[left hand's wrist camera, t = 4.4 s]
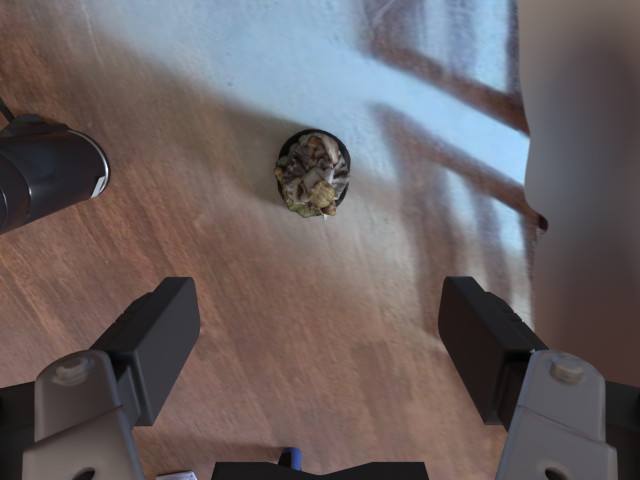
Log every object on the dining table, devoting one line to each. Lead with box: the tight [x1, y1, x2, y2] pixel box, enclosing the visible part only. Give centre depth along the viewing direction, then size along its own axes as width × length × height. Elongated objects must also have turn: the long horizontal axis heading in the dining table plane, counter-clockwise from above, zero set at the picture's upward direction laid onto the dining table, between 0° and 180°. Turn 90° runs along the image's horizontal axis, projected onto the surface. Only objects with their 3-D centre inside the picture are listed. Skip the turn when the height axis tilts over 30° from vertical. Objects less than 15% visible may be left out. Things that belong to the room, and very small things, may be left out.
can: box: [282, 448, 301, 471], centre depth 67 cm, size 4×4×4 cm
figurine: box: [274, 129, 350, 220], centre depth 41 cm, size 12×11×15 cm
